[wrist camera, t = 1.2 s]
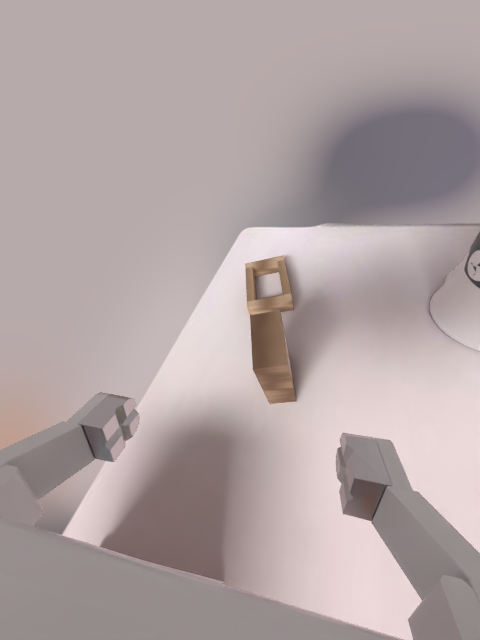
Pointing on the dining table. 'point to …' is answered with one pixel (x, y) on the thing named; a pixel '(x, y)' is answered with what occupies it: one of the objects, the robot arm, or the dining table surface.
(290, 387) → the block
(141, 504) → the dining table surface
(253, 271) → the wooden rectangular frame
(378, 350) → the dining table surface
